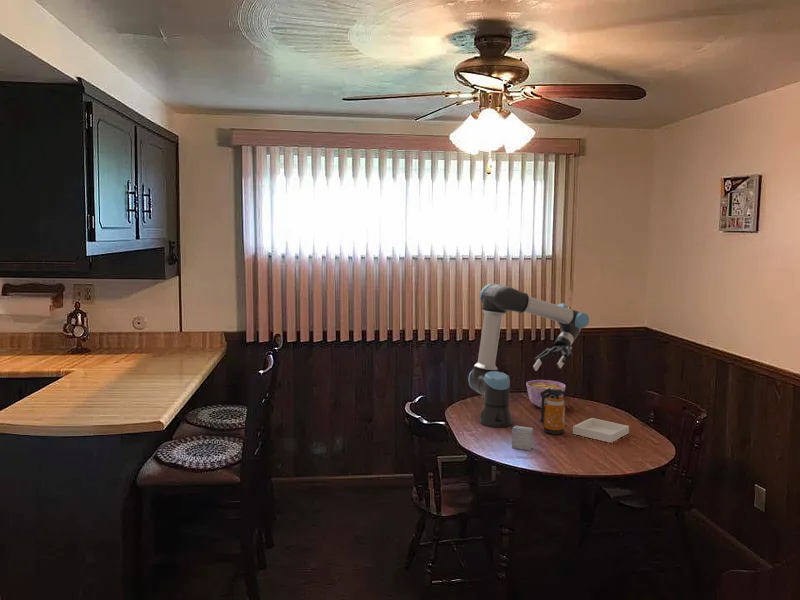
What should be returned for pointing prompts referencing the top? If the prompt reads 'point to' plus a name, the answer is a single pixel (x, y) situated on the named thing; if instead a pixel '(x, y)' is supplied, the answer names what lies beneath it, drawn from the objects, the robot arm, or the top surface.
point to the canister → (553, 411)
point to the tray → (600, 429)
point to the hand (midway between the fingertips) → (546, 367)
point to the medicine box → (522, 437)
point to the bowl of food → (540, 386)
